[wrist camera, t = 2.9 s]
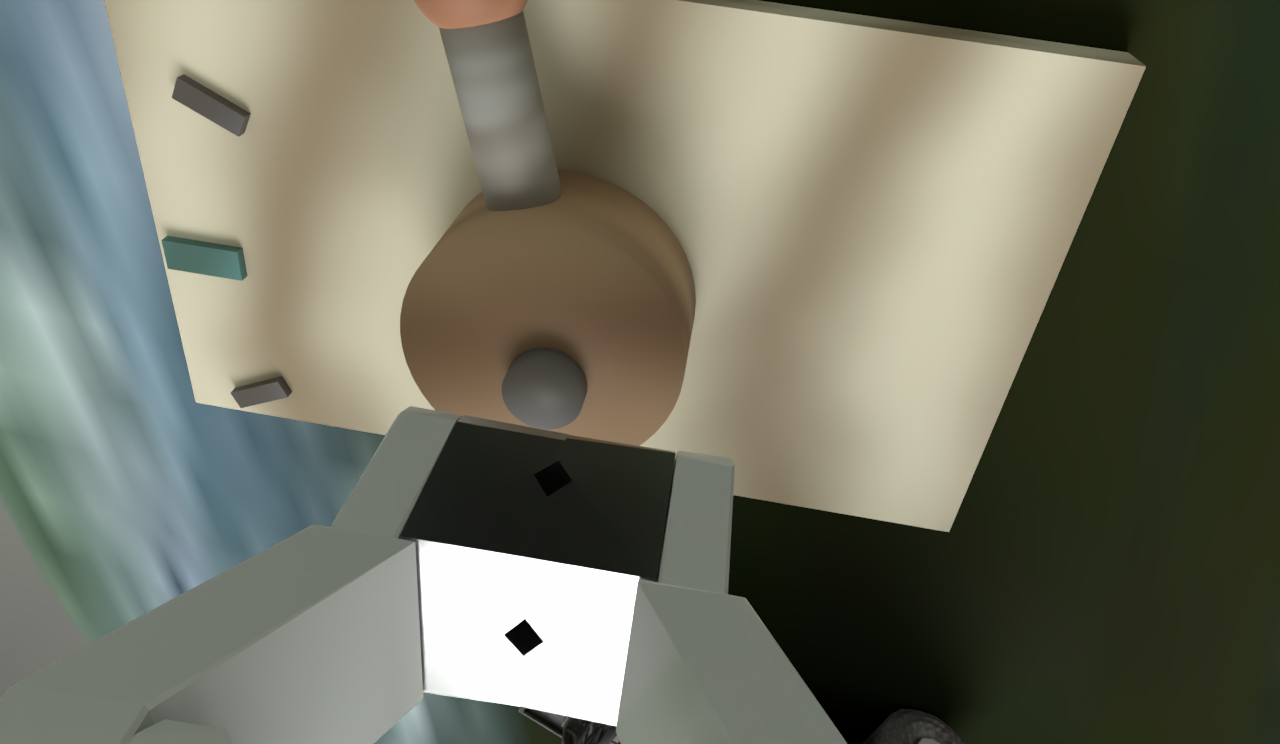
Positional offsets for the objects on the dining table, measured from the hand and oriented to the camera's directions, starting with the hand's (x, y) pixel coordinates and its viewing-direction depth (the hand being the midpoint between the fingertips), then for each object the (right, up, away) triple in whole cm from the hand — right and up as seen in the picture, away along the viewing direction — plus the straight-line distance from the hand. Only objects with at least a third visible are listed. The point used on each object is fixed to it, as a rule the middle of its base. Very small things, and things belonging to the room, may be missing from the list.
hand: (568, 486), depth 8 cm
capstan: (-2, +6, +14) cm, 15 cm away
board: (-1, +5, +16) cm, 17 cm away
